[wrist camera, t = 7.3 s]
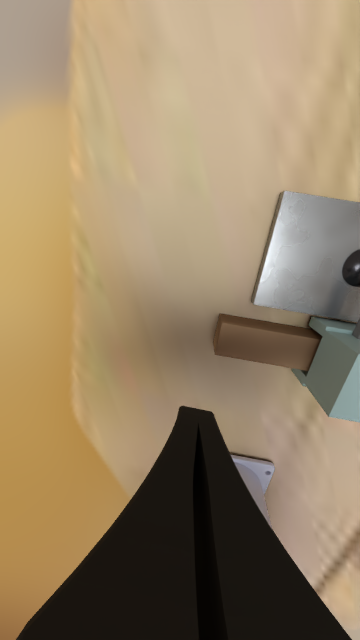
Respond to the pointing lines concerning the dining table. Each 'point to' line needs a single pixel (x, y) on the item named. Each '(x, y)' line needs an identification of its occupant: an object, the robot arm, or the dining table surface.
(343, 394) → the carriage
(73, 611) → the robot arm
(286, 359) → the trammel rail
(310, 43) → the dining table surface
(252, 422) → the dining table surface
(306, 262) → the flange plate
